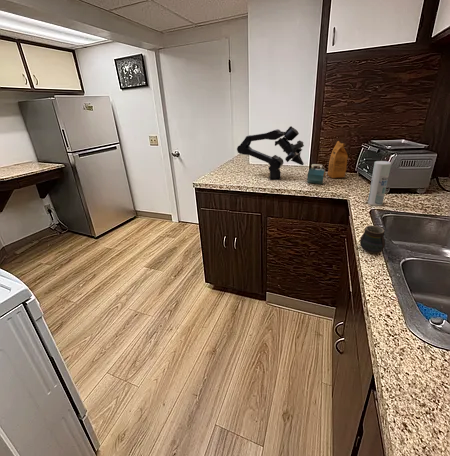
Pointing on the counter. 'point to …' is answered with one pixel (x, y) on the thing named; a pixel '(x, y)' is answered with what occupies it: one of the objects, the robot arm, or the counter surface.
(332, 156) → the coffee package
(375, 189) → the spray can
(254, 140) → the robot arm
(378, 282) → the counter surface
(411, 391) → the counter surface
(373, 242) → the mate gourd
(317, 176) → the mug
